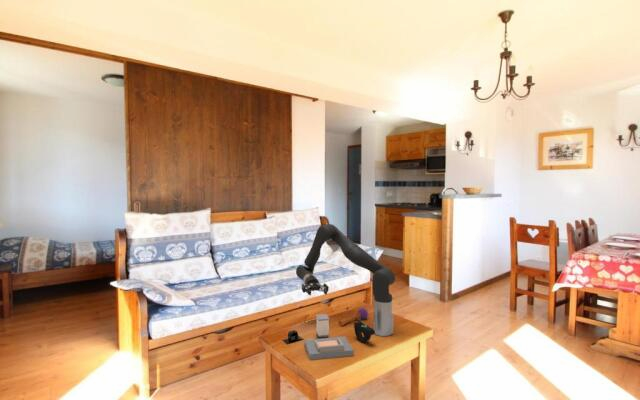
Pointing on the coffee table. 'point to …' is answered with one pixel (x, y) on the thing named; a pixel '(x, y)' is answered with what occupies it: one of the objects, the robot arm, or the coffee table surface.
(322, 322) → the box with lid
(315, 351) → the dock
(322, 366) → the coffee table surface
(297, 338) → the black notched block
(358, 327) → the controller
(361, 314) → the kendama
